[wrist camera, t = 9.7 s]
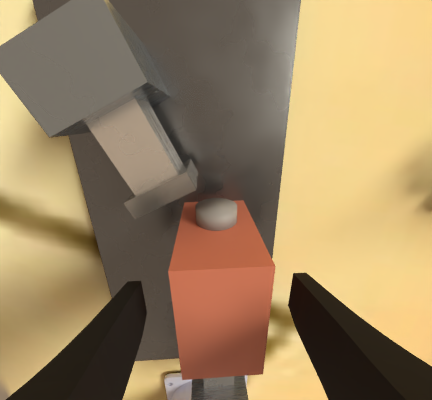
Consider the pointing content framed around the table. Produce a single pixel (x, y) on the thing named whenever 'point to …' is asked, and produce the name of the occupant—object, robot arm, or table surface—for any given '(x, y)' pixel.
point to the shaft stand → (162, 126)
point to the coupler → (220, 290)
